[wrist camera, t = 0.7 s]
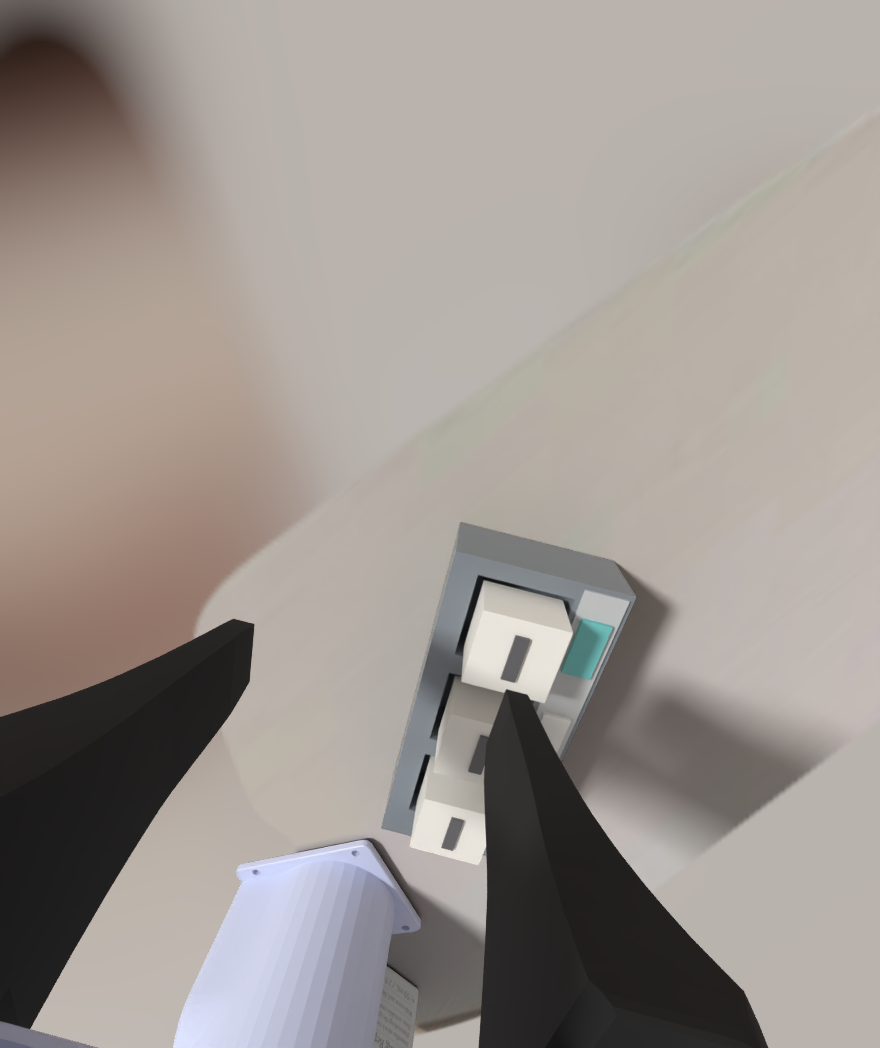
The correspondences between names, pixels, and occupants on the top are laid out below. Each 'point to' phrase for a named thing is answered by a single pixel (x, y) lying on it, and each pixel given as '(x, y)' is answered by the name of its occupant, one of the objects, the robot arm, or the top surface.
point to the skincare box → (396, 1013)
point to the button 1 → (450, 817)
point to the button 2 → (515, 641)
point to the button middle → (466, 731)
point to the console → (478, 555)
